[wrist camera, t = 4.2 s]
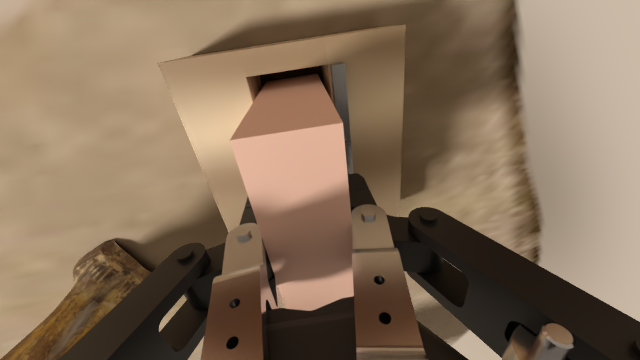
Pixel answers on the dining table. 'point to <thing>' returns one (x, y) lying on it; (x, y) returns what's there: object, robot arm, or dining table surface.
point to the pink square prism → (299, 189)
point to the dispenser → (340, 83)
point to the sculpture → (83, 302)
